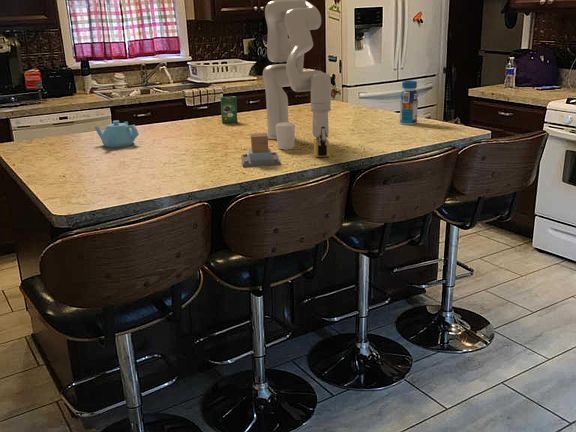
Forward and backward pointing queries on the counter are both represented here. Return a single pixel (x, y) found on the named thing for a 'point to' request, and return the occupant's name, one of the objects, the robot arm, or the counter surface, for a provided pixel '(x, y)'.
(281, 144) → the white cup
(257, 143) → the walnut brick
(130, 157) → the counter surface
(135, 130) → the teapot
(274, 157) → the build plate
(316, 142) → the mustard brick
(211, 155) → the counter surface
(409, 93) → the blue capped bottle
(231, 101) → the coffee box
